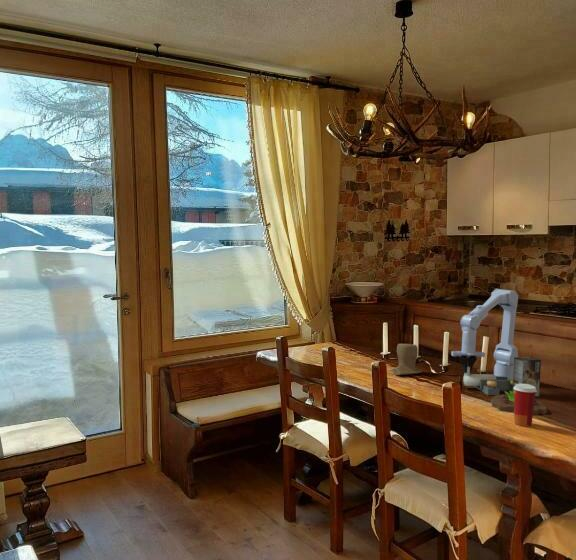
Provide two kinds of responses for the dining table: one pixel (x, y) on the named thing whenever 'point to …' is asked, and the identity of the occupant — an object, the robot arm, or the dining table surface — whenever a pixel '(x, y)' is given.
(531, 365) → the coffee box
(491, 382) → the plunger
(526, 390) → the paper cup
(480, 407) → the dining table surface
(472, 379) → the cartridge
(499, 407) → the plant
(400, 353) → the grey top hat
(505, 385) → the housing
